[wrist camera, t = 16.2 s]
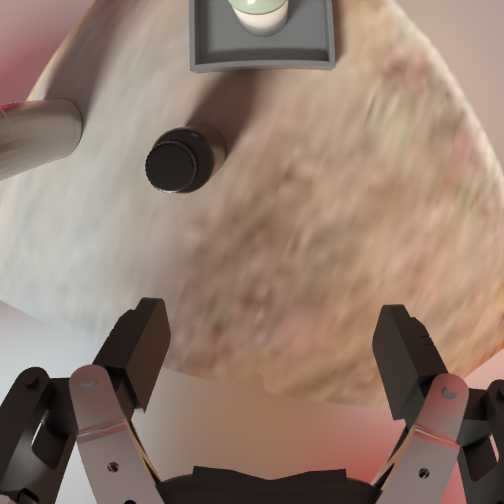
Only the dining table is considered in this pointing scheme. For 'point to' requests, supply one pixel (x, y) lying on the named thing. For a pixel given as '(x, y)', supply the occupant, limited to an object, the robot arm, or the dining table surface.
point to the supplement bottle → (185, 158)
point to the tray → (260, 38)
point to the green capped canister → (261, 15)
